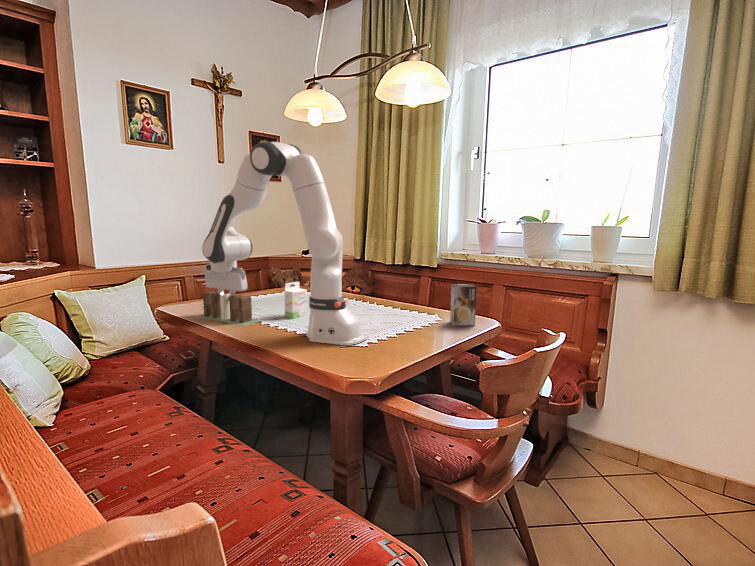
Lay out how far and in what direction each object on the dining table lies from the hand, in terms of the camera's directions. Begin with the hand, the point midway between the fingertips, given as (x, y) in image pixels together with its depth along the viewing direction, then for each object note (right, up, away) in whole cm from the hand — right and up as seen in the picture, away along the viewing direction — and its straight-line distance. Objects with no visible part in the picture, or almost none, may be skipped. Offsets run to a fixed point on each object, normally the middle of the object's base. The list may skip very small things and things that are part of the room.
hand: (226, 300), depth 163 cm
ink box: (+27, -8, +7) cm, 29 cm away
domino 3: (+4, -8, -1) cm, 9 cm away
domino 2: (-5, -7, +3) cm, 9 cm away
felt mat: (0, -8, +1) cm, 8 cm away
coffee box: (+96, -10, 0) cm, 97 cm away
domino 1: (-9, -7, +6) cm, 13 cm away
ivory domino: (0, -8, +1) cm, 8 cm away
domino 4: (+9, -8, -3) cm, 13 cm away
